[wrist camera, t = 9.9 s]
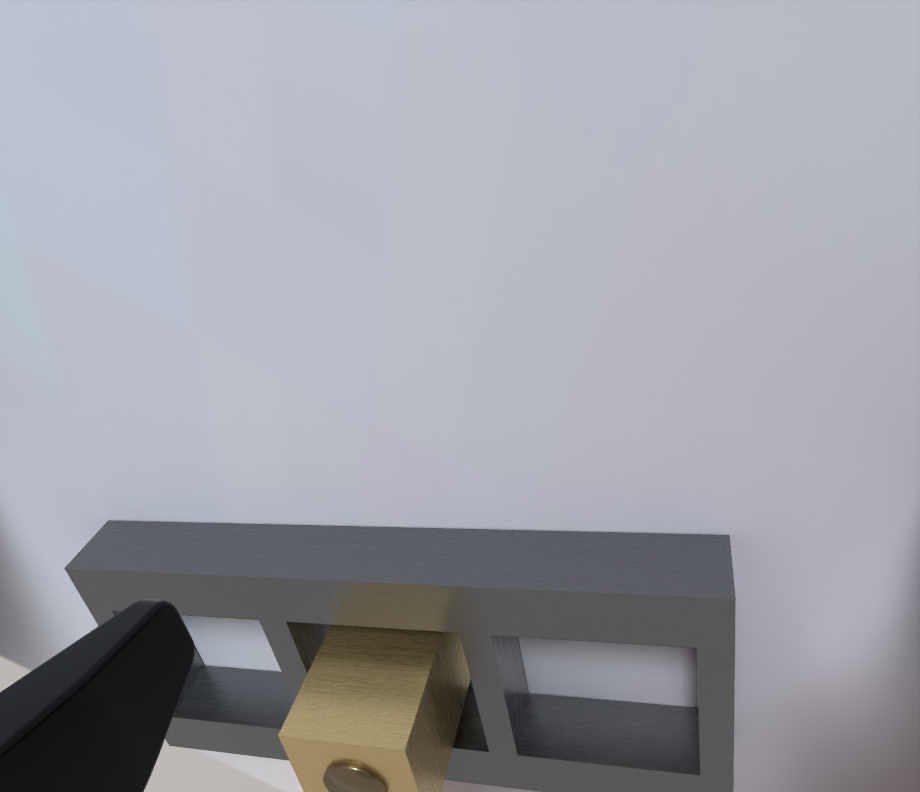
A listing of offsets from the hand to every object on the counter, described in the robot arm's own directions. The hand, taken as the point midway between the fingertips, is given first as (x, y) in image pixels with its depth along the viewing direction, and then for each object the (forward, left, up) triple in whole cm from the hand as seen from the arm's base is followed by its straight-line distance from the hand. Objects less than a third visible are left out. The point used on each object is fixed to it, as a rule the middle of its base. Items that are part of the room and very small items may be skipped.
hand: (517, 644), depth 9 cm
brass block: (+8, +14, -12) cm, 20 cm away
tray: (+8, +14, -12) cm, 20 cm away
